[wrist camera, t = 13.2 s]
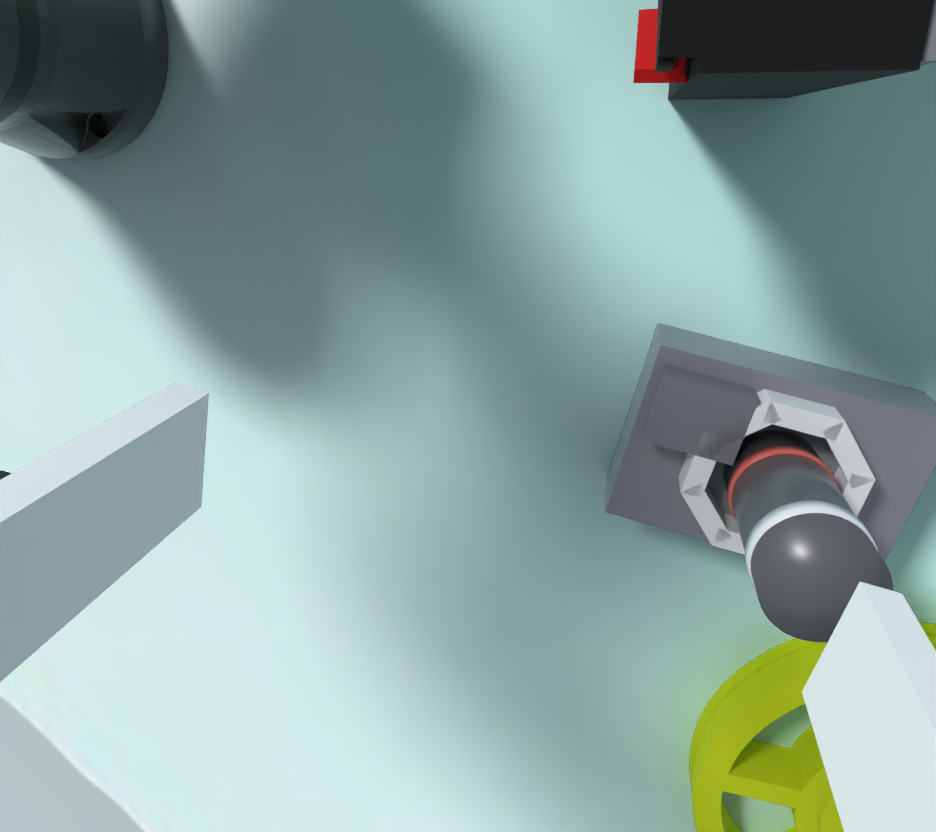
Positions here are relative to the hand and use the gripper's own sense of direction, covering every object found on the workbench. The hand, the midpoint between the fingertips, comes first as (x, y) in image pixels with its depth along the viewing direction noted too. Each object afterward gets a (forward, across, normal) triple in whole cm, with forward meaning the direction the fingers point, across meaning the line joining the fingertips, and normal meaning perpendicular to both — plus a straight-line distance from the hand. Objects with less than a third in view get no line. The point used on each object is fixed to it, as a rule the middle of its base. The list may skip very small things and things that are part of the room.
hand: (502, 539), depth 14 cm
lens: (+28, +13, -8) cm, 32 cm away
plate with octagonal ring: (+33, +13, -8) cm, 36 cm away
